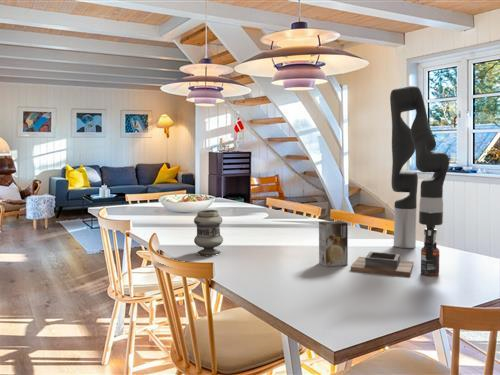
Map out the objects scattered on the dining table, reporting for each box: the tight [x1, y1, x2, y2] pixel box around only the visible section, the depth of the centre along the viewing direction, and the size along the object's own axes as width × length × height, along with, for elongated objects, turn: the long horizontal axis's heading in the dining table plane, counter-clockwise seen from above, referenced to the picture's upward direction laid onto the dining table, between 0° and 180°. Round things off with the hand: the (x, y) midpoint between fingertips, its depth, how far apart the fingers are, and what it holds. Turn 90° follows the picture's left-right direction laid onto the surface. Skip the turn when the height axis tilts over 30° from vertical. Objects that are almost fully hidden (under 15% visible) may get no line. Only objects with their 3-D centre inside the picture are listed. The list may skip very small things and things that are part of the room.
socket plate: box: [350, 251, 414, 277], centre depth 166 cm, size 16×20×4 cm
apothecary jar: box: [193, 209, 224, 256], centre depth 191 cm, size 12×12×18 cm
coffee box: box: [318, 220, 349, 268], centre depth 172 cm, size 9×6×16 cm
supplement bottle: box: [420, 241, 440, 277], centre depth 158 cm, size 6×6×11 cm
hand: (429, 257), depth 157 cm, fingers open, 8 cm apart
